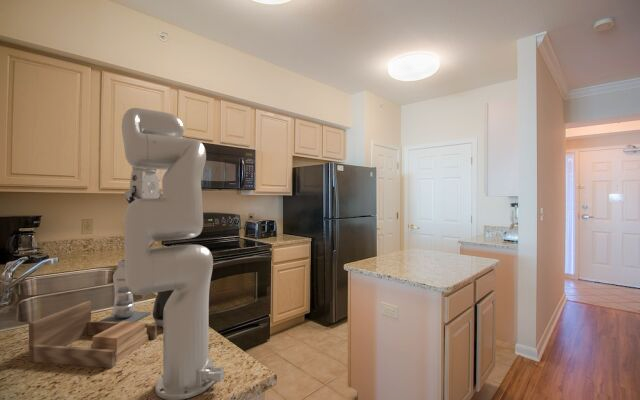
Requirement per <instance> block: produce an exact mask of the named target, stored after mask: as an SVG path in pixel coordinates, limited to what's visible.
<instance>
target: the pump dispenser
mask: <svg viewBox="0 0 640 400" xmlns="http://www.w3.org/2000/svg"><path fill="white" fill-rule="evenodd" d="M173 291H174V290H168V291H162V292H157V293H156V296H155V300H154V303H153V307H152V308H153V309H152V318H153V321H154V324H157V327H160V328H163V312H164V307H165V304H166V302H167V300H168V299H169V297H170V296H171V294H172V293H173Z"/></svg>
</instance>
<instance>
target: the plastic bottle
mask: <svg viewBox="0 0 640 400" xmlns="http://www.w3.org/2000/svg"><path fill="white" fill-rule="evenodd" d="M112 281H113V286H114V287H113V288H114V300H113V301H114V302H113V309H112V315H114V317H115V318H119V319H120V318H127V317H130V316H132V315H133V313H134V311H135V309H136V308H135V303H134V294H132V293H130V292H129V290H128V288H127V285H126V280H125V259H121V260H120V259H119V260H117V269H116V270H115V272H113V275H112Z"/></svg>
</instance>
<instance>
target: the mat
mask: <svg viewBox="0 0 640 400" xmlns="http://www.w3.org/2000/svg"><path fill="white" fill-rule="evenodd" d="M151 314H152V312H150V311H139V310H138V311H134V313H133V315H132V316H130V317H127V318H120V319H119V318H115V317H114V315H113V314H110V315H108V316H107V317H105V318H102V319H100V320H99V321H108V322H122V321H131V322H139V321H140V320H142V319H144V318H146V317H147V316H149V315H151Z"/></svg>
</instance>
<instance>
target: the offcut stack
mask: <svg viewBox="0 0 640 400" xmlns="http://www.w3.org/2000/svg"><path fill="white" fill-rule="evenodd" d="M145 324H146V323H145V322H144V321H137V322H131V321H122V322H120V323H118V324H116V325H115V326H113V327H111V328H109V329H107V330H105V331H103V332H101V333H99V334H97V335H92V343H90V348H95V349H109V350H115V363H118V362H119V361H121V360H122V359H124V358H125V357H127V356H128V355H130V354H131V353H133V352H134V351H135V350H137V349H139V348H140V347H142V346H143V345H145V344H146V343H147V342H149V339H148V334H147V328H145Z"/></svg>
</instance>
